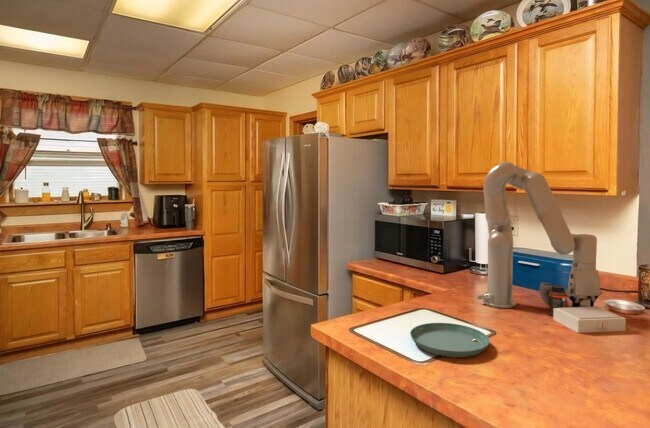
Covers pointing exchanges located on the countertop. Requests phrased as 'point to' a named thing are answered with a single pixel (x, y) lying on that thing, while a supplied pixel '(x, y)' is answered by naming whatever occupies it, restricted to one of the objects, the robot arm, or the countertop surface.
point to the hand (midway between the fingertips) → (582, 311)
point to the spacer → (584, 301)
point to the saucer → (449, 339)
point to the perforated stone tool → (545, 291)
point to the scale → (589, 319)
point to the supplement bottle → (557, 298)
